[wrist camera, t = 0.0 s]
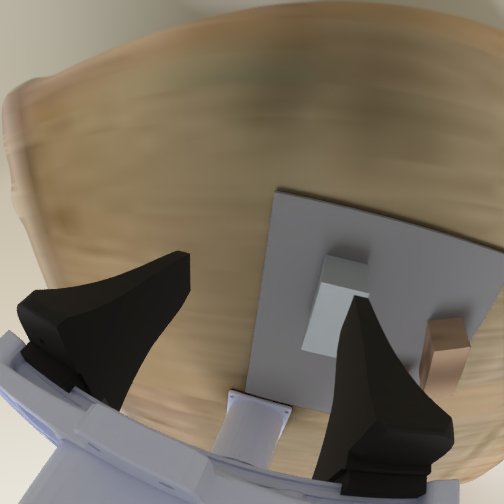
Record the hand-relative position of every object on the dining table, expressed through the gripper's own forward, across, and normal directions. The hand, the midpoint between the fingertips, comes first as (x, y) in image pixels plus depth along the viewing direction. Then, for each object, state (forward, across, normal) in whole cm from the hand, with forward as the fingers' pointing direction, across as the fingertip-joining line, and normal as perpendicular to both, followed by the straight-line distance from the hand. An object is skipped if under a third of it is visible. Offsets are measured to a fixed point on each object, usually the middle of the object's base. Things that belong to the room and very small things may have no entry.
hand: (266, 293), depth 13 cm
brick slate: (+10, -4, +6) cm, 12 cm away
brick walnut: (+10, -15, +9) cm, 20 cm away
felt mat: (+10, -8, +11) cm, 17 cm away
